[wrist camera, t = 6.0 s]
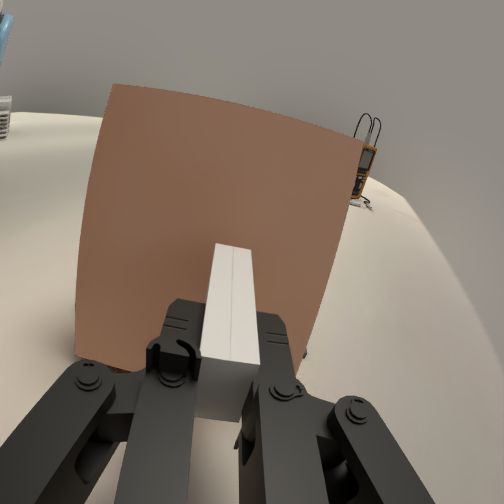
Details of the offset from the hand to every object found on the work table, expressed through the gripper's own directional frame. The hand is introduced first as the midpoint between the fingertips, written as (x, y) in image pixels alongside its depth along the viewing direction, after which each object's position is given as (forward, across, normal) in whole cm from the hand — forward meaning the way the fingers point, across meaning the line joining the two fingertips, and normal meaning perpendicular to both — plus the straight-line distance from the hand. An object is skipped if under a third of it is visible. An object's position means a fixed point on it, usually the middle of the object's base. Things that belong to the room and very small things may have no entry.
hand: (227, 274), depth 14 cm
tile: (+1, -1, -7) cm, 7 cm away
